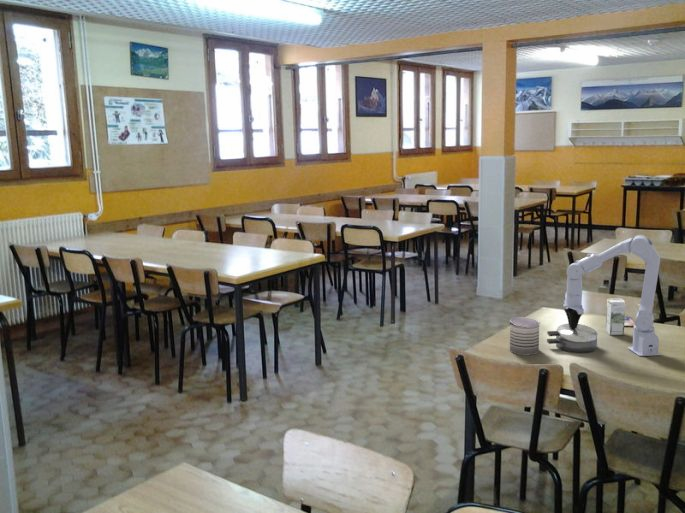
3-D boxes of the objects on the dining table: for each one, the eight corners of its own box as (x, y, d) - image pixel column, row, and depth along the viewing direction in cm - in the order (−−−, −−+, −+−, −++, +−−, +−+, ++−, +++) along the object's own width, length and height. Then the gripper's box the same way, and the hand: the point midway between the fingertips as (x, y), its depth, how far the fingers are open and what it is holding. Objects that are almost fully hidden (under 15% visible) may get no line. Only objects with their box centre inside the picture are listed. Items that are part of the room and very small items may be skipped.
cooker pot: (603, 352, 248) (603, 341, 247) (554, 354, 247) (555, 344, 246) (586, 340, 263) (587, 330, 262) (541, 342, 262) (541, 332, 261)
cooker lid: (603, 341, 247) (604, 339, 247) (555, 344, 246) (555, 341, 246) (587, 324, 261) (588, 322, 261) (541, 326, 260) (541, 324, 260)
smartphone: (620, 325, 278) (613, 316, 293) (620, 328, 278) (613, 318, 293) (638, 326, 277) (630, 316, 291) (638, 328, 277) (630, 318, 291)
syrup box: (619, 331, 272) (621, 297, 270) (624, 335, 266) (625, 301, 264) (605, 331, 273) (606, 298, 270) (609, 335, 267) (611, 301, 264)
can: (527, 344, 260) (527, 315, 258) (545, 352, 250) (546, 322, 248) (503, 348, 256) (503, 318, 254) (520, 357, 246) (521, 326, 244)
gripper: (557, 289, 262) (556, 322, 264) (571, 298, 247) (570, 333, 250) (574, 289, 262) (573, 321, 264) (589, 297, 248) (588, 332, 250)
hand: (572, 327), depth 257 cm, fingers closed
